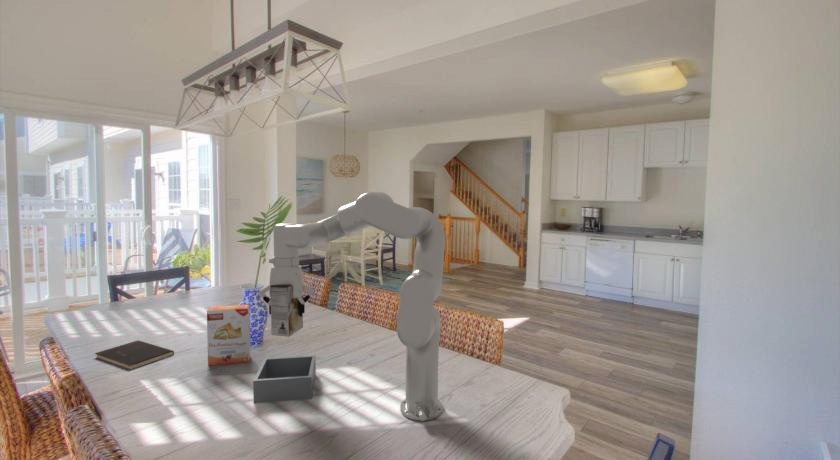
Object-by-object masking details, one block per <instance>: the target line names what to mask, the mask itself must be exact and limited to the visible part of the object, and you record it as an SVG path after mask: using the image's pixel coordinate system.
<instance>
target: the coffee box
mask: <svg viewBox="0 0 840 460" xmlns="http://www.w3.org/2000/svg"><path fill="white" fill-rule="evenodd" d="M270 292H271V298H270V299H271V314H270V323H271V325H270V327H271V328H270V330H271V336H276V337H288V338H289V337H291V336H292V335H294V334H295V333H297V332H298V331H300V330H302V329H303V327H304V325H303V324H304V320H303V317H304V316H303V315H304V314H303V315H302V317H300V316H299V305H300V301H299V300H298V299H297V298H295V299H294V298H293V285H271V286H270Z"/></svg>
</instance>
